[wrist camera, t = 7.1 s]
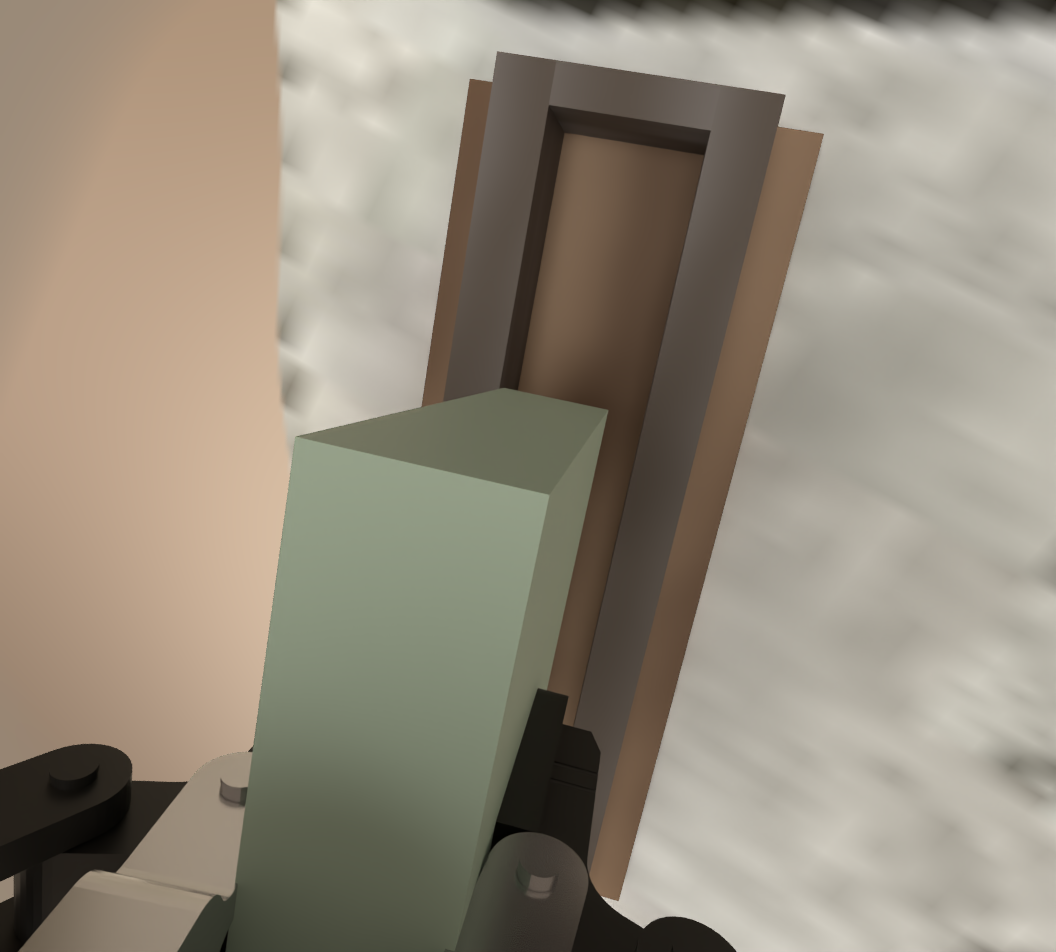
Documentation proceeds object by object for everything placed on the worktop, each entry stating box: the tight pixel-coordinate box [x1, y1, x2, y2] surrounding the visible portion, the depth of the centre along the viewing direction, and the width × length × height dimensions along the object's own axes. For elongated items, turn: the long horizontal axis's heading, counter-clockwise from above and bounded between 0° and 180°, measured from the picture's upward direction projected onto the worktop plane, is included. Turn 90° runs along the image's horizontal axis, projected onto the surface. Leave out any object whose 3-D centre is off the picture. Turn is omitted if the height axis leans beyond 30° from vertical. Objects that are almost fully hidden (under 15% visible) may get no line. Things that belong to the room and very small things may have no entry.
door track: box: [422, 51, 824, 901], centre depth 23 cm, size 10×26×4 cm, turn 170°
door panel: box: [226, 388, 608, 952], centre depth 13 cm, size 2×12×10 cm, turn 169°
